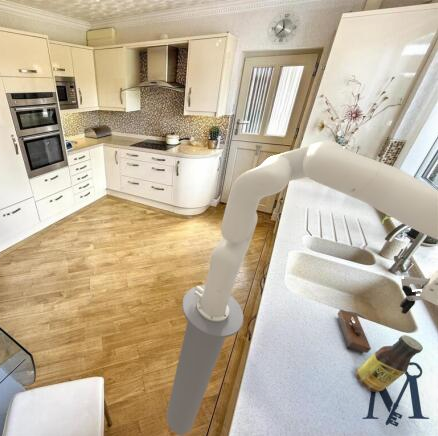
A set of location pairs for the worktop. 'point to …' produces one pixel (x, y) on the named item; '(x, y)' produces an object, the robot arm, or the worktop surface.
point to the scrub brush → (352, 332)
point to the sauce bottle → (388, 364)
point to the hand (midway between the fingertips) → (431, 323)
